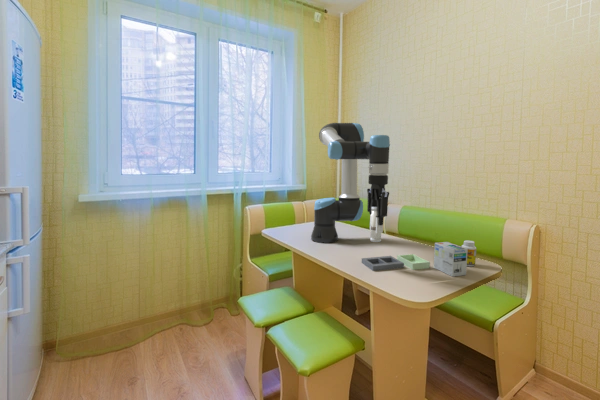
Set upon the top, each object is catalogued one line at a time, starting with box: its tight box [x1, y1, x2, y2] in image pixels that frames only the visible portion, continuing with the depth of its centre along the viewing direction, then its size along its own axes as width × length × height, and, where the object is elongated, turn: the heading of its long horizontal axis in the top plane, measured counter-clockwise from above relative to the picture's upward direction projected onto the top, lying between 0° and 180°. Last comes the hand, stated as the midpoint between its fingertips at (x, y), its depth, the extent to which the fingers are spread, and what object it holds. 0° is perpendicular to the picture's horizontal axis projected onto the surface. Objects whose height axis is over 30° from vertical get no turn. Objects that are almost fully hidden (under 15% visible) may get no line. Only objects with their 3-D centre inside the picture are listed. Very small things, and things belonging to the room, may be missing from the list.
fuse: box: [369, 206, 382, 243], centre depth 121 cm, size 4×4×14 cm
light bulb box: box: [433, 241, 468, 277], centre depth 118 cm, size 11×7×11 cm, turn 17°
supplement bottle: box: [461, 239, 477, 267], centre depth 125 cm, size 6×6×10 cm
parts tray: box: [396, 253, 431, 271], centre depth 125 cm, size 11×8×3 cm
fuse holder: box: [361, 255, 405, 272], centre depth 124 cm, size 10×14×2 cm
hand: (376, 231), depth 122 cm, fingers closed on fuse, 4 cm apart
